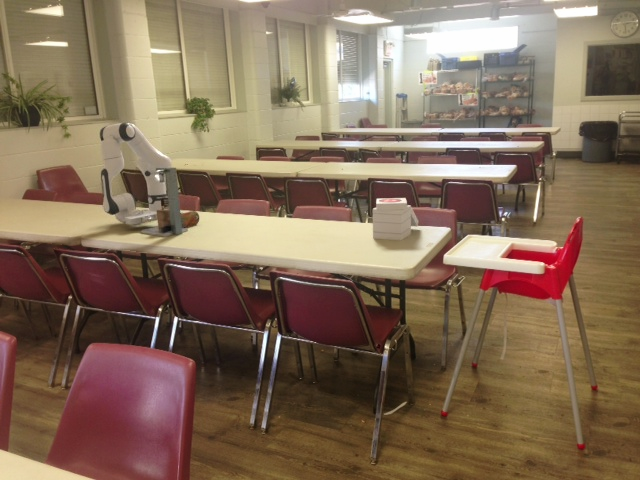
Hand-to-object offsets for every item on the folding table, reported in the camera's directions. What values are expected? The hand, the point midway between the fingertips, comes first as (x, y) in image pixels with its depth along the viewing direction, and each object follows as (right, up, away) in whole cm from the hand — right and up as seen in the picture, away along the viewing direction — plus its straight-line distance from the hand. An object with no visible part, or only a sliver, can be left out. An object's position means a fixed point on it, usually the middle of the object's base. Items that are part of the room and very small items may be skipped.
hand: (150, 219), depth 324 cm
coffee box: (+7, -2, +17) cm, 19 cm away
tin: (+19, -4, +8) cm, 21 cm away
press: (+8, -8, -9) cm, 14 cm away
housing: (+10, -6, -6) cm, 13 cm away
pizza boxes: (+134, -8, -29) cm, 138 cm away
